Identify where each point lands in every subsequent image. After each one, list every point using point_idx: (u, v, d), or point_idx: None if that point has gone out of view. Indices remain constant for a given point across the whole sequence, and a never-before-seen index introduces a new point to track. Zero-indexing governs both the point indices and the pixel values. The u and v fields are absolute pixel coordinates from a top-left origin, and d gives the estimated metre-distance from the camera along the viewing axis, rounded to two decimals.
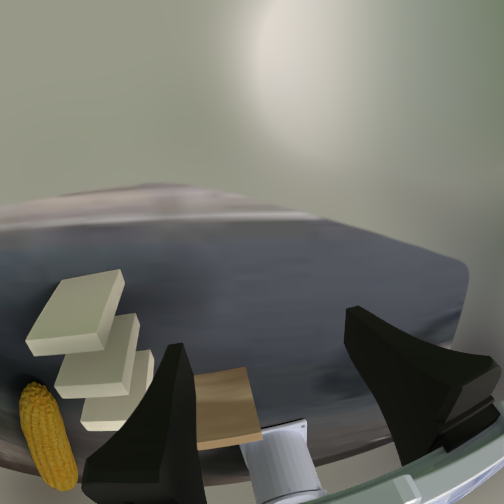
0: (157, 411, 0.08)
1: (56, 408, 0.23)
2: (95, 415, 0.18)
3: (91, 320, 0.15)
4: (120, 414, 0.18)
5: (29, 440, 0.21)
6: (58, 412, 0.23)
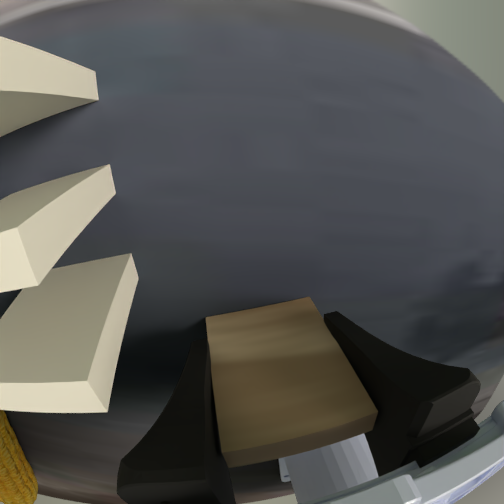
0: (190, 407, 0.08)
1: None
2: None
3: None
4: (37, 368, 0.06)
5: None
6: None
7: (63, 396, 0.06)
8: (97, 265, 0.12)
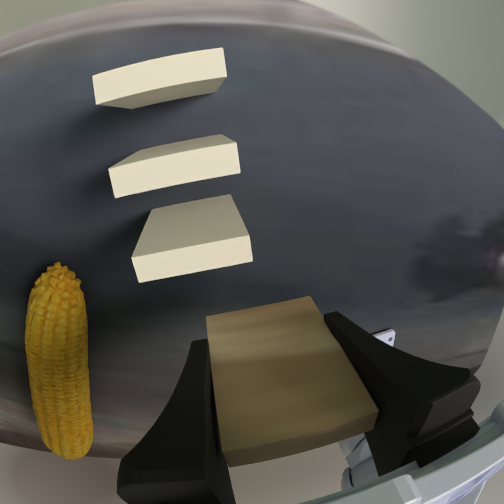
0: (190, 407, 0.08)
1: (84, 307, 0.19)
2: (159, 247, 0.13)
3: None
4: (205, 238, 0.13)
5: (34, 363, 0.17)
6: (85, 316, 0.19)
7: (227, 251, 0.13)
8: (208, 200, 0.19)
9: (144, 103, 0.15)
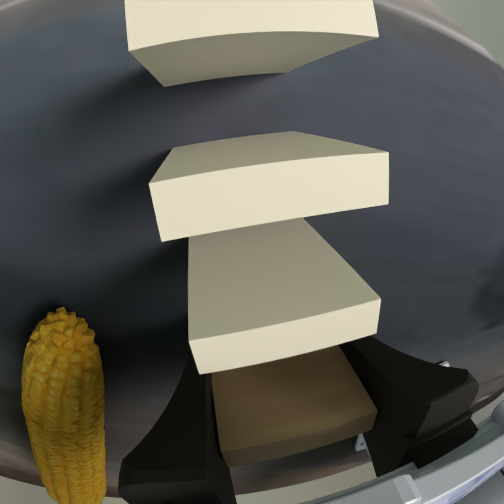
0: (191, 407, 0.08)
1: (100, 366, 0.14)
2: (235, 318, 0.08)
3: None
4: (312, 302, 0.08)
5: (36, 431, 0.11)
6: (102, 375, 0.14)
7: (346, 323, 0.08)
8: (272, 224, 0.14)
9: (190, 76, 0.09)
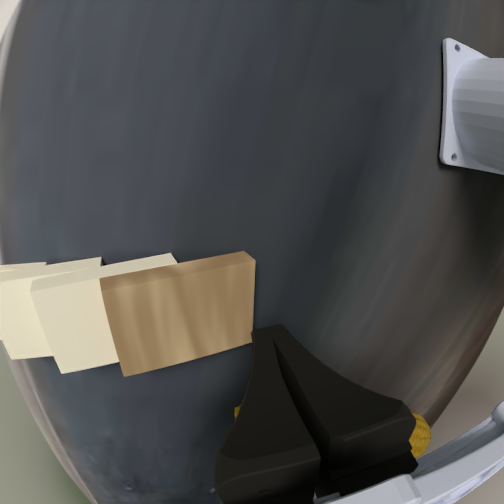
0: (273, 392, 0.09)
1: None
2: None
3: None
4: None
5: None
6: None
7: None
8: None
9: None
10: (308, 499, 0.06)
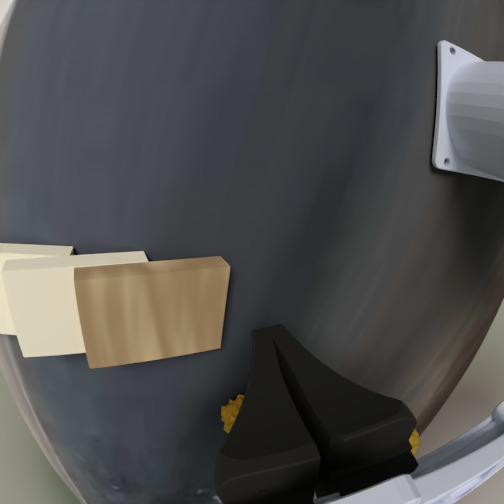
0: (273, 392, 0.09)
1: None
2: None
3: None
4: None
5: None
6: None
7: None
8: None
9: None
10: (308, 499, 0.06)
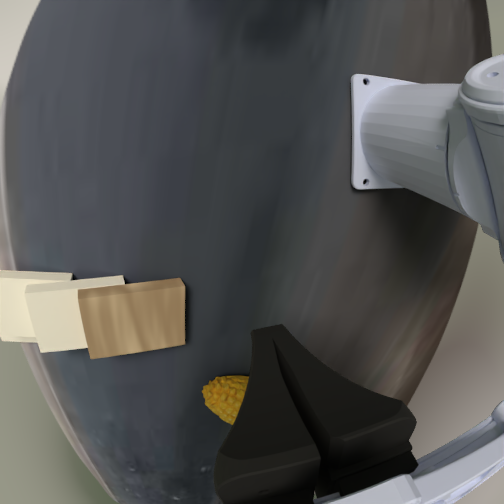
0: (273, 392, 0.09)
1: (245, 381, 0.24)
2: None
3: None
4: None
5: None
6: None
7: None
8: None
9: None
10: (308, 499, 0.06)
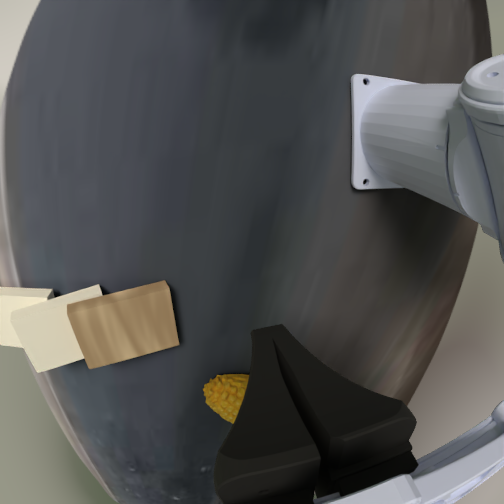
0: (273, 392, 0.09)
1: (246, 379, 0.24)
2: None
3: None
4: None
5: None
6: None
7: None
8: None
9: None
10: (308, 499, 0.06)
